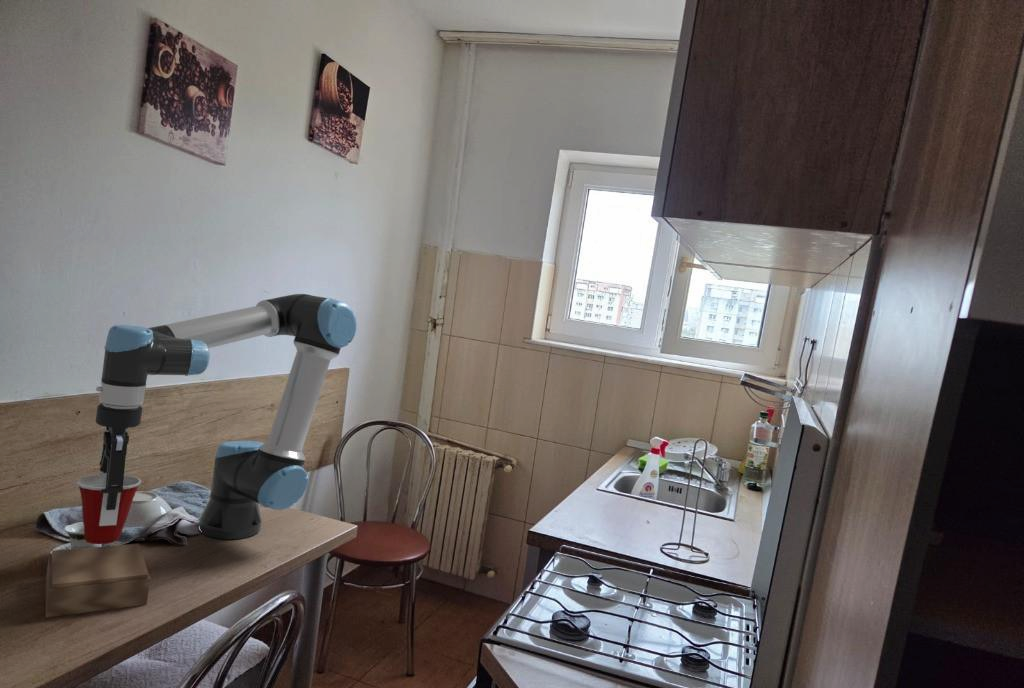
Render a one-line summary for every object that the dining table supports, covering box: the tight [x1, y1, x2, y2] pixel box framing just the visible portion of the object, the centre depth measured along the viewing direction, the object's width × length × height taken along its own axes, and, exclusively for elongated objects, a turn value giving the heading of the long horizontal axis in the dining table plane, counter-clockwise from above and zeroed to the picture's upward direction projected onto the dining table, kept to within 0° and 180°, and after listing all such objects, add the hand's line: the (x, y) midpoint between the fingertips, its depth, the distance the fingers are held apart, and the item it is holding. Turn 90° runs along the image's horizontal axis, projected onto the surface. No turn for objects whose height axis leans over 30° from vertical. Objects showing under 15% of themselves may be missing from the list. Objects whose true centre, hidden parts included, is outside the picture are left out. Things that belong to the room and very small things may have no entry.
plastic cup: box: [76, 474, 142, 545], centre depth 124 cm, size 11×11×12 cm
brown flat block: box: [45, 543, 151, 618], centre depth 125 cm, size 16×16×6 cm
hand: (105, 514), depth 124 cm, fingers closed on plastic cup, 11 cm apart
